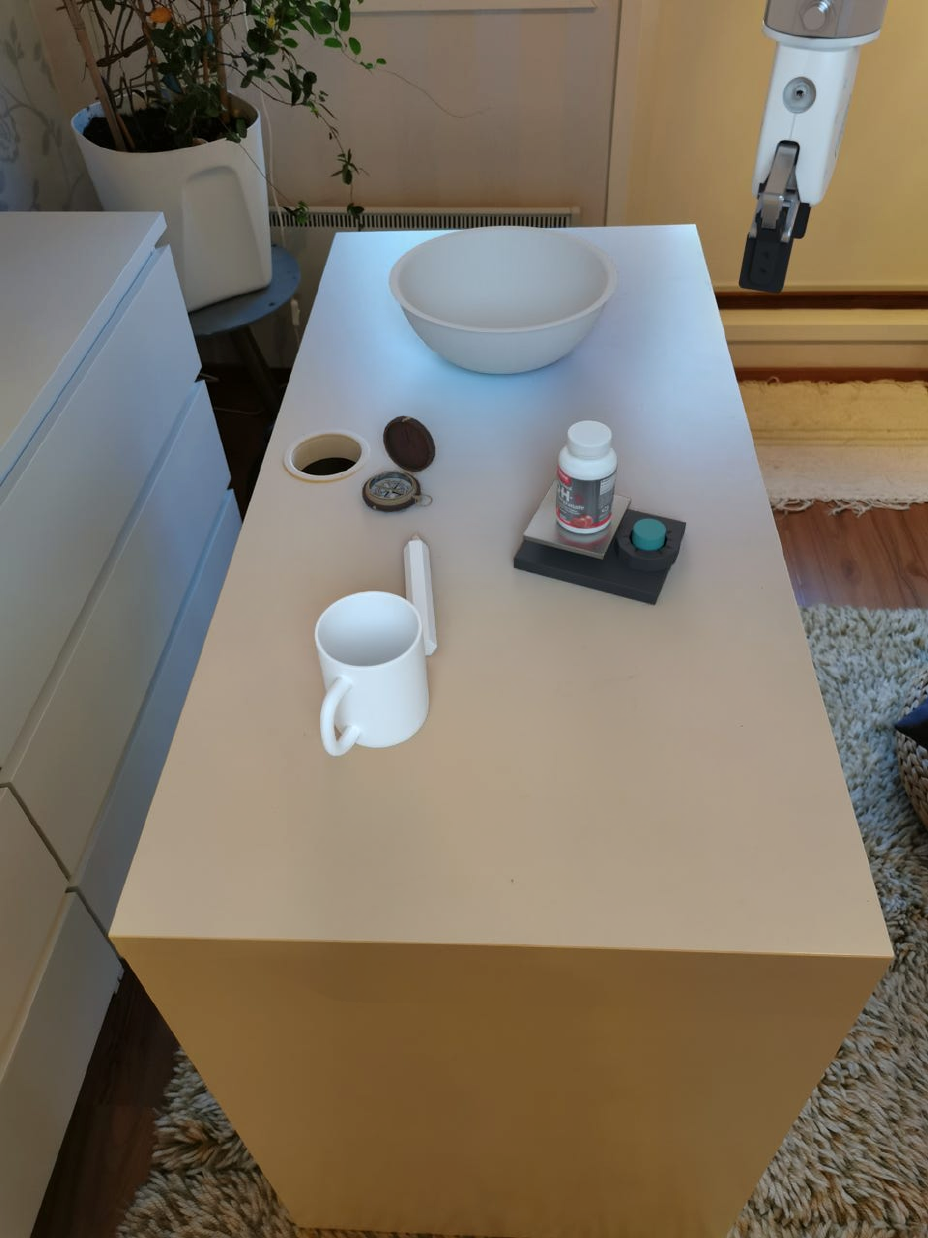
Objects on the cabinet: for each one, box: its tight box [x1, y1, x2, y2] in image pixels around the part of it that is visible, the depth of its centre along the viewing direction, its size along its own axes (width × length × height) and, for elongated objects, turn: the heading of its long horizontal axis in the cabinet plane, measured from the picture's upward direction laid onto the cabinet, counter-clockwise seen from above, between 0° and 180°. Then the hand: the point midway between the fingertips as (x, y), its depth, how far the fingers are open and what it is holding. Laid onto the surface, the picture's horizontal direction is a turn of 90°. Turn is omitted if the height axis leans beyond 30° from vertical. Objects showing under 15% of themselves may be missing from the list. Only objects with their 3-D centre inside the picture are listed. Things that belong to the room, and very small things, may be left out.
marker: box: [403, 531, 438, 657], centre depth 89 cm, size 3×2×16 cm
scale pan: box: [522, 480, 632, 560], centre depth 92 cm, size 8×9×1 cm
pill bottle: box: [556, 420, 618, 534], centre depth 88 cm, size 5×5×10 cm
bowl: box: [388, 225, 619, 375], centre depth 117 cm, size 27×27×10 cm
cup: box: [314, 590, 430, 757], centre depth 75 cm, size 8×12×10 cm
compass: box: [361, 415, 436, 513], centre depth 98 cm, size 8×8×7 cm
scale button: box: [632, 519, 666, 551], centre depth 90 cm, size 3×3×2 cm
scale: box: [513, 508, 687, 606], centre depth 92 cm, size 14×11×3 cm
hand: (772, 261), depth 74 cm, fingers open, 9 cm apart
